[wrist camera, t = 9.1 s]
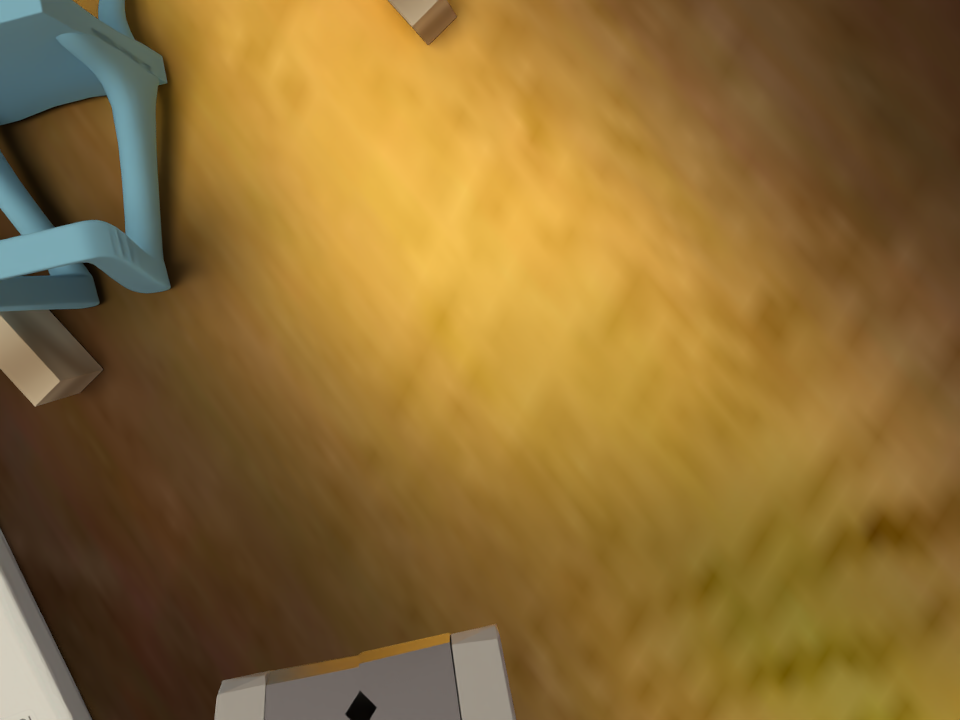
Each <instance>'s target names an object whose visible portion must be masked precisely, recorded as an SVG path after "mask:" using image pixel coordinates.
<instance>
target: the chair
mask: <svg viewBox="0 0 960 720" xmlns="http://www.w3.org/2000/svg"><path fill="white" fill-rule="evenodd" d="M166 83H167V78H166V73H165V68H164V63H163V58H162V56H161V55H160V54H158V53H157V52H155V51H153V50H152V49H150V48H149V47H147V46H145V45H144V44H142V43H140V42H138V41H136V40H135V39H134V37H133V35H132V33H131V31H130V28H129V25H128V23H127V20H126V14H125V0H99V7H98V19H97V18H95V17H94V16H93V15H91V14H90V13H89V12H87V11H86V10H85V9H83V8H82V7H80V6H79V5H78V4H76V3H75V2H74V1H72V0H0V125H4V124H8V123H12V122H16V121H19V120H22V119H24V118H27V117H30V116H32V115H35V114H37V113H40V112H42V111H45V110H47V109H50V108H52V107H55V106H59V105H63V104H67V103H70V102H74V101H78V100H82V99H86V98H90V97H97V96H105V95H107V97H108V99H109V102H110V104H111V106H112V111H113V117H114V123H115V128H116V134H117V140H118V146H119V155H120V165H121V174H122V186H123V199H124V213H125V231H126V234H125V233H123V232H122V231H121V230H119V229H118V228H117V227H115V226H113V225H111V224H109V223H107V222H104V221H99V220H87V221H81V222H77V223H72V224H68V225H64V226H59V227H54V226H53V225H52V223H51V222H50V221H49V219H48V218H47V217H46V215H45V214H44V213H43V212H42V210H41V209H40V208H39V206H38V205H37V203H36V202H35V201H34V199H33V198H32V197H31V195H30V194H29V193H28V191H27V190H26V188H25V187H24V186H23V184H22V183H21V182H20V180H19V179H18V177H17V176H16V174H15V173H14V171H13V170H12V168H11V167H10V165H9V163H8V162H7V160H6V159H5V157H4V156H3V154H2V153H1V151H0V208H1V209H2V211H3V212H4V213H5V215H6V216H7V217H8V218H9V220H10V221H11V222H12V224H13V225H14V226H15V227H16V229H17V230H18V231H19V233H20V234H21V236H16V237H12V238H8V239H3V240H0V311H23V310H50V309H80V308H88V307H93V306H96V305H98V304H99V303H100V302H99V298H98V295H97V291H96V287H95V283H94V280H93V277H92V275H91V274H90V272H89V271H88V270H87V268H86V267H85V266H84V264H83V263H86V262H87V263H91V264H94V265H95V266H97V267H98V268H99V269H101V270H102V271H103V272H105V273H106V274H107V275H108V276H110V277H111V278H112V279H114V280H115V281H116V282H118V283H119V284H121V285H122V286H124V287H125V288H127V289H130V290H132V291H135V292H139V293H155V292H162V291H166V290H168V289H170V288H171V286H170V282H169V278H168V274H167V270H166V266H165V263H164V258H163V245H162V231H161V217H160V201H159V184H158V165H157V145H156V98H157V91H158V85H162V84H166ZM44 270H48V271H49V273H50V276H22V275H26V274H31V273H35V272H39V271H44Z"/></svg>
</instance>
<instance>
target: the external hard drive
mask: <svg viewBox="0 0 960 720" xmlns="http://www.w3.org/2000/svg"><path fill="white" fill-rule="evenodd" d="M0 720H92V719H91V716H90V714H89V712H88V710H87V708H86V706H85V704H84V702H83V700H82V698H81V695H80V693H79V691H78V689H77V687H76V685H75V683H74V681H73V679H72V676H71V674H70V672H69V670H68V668H67V666H66V664H65V662H64V660H63V658H62V656H61V654H60V652H59V650H58V647H57V645H56V643H55V641H54V639H53V637H52V635H51V633H50V631H49V629H48V627H47V625H46V623H45V621H44V619H43V616H42V614H41V612H40V610H39V608H38V606H37V604H36V602H35V600H34V598H33V596H32V594H31V592H30V590H29V587H28V585H27V583H26V581H25V579H24V577H23V575H22V573H21V571H20V569H19V567H18V565H17V562H16V560H15V558H14V556H13V554H12V552H11V550H10V548H9V546H8V544H7V542H6V539H5V537H4V535H3V533H2V531H1V529H0Z"/></svg>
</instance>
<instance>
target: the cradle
mask: <svg viewBox="0 0 960 720" xmlns="http://www.w3.org/2000/svg"><path fill="white" fill-rule="evenodd" d="M388 1H389V2H390V3H391V5H392V6H393V7H394V8H395V9H396V10H397V11H398V12H399V13H400V15H401V16H402V17H403V18H404V19H405V20H406V21H407V22H408V23H409V25H410V26H411V27H412V28H413V29H414V30H415V31H416V32H417V33H418V35H419V36H420V37H421V38H422V39H423V40H424V41H425V42H426V43H427V45H429V44H430V43H431V42H432V41H433V40H434V39H435V38H436V37H437V36H438V35H439V34H440V33H441V32H442V31H443V30H444V29H445V28H446V27H447V26H448V25H449V24H450V23H451V22H452V21H453V20H454V19H455V18H456V17H457V16H456V14H455V13H454V11H453V10H452V8H451V6H450V5H449V3H448V1H447V0H388ZM0 369H1V370H2V371H3V372H4V373H5V374H6V375H7V376H8V377H9V379H10V380H11V381H12V382H13V383H14V384H15V385H16V386H17V387H18V388H19V389H20V391H21V392H22V393H23V394H24V395H25V396H26V397H27V398H28V399H29V400H30V401H31V403H32V404H33V405H34V406H38V405H42V404H45V403H48V402H52V401H55V400H58V399H61V398H65V397H68V396H71V395H75V394H78V393H80V392H81V391H82V390H83V389H84V388H85V387H86V386H87V385H88V384H89V383H90V382H91V381H92V380H93V379H94V378H95V377H96V376H97V375H98V374H99V373H100V372H101V371H102V370H103V369H102V367H101V366H100V365H99V364H98V363H97V362H96V361H95V360H94V359H93V358H92V357H91V355H90V354H89V353H88V352H87V351H86V350H85V349H84V348H83V347H82V346H81V344H80V343H79V342H78V341H77V340H76V339H75V338H74V337H73V336H72V335H71V334H70V332H69V331H68V330H67V329H66V328H65V327H64V326H63V325H62V324H61V323H60V322H59V320H58V319H57V318H56V317H55V316H54V315H53V314H52V313H51V312H50V311H49V310H23V311H0Z"/></svg>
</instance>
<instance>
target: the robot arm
mask: <svg viewBox="0 0 960 720" xmlns="http://www.w3.org/2000/svg"><path fill="white" fill-rule="evenodd" d="M215 720H516V716H515V711H514V706H513V701H512V696H511V691H510V686H509V681H508V676H507V670H506V665H505V660H504V655H503V650H502V645H501V640H500V635H499V631H498V628H497V625H496V624H493V625H488V626H484V627H480V628H475V629H471V630H467V631H462V632H458V633H454V634H451V635H450V633H445V634H441V635H437V636H432V637H428V638H423V639H419V640H414V641H410V642H405V643H401V644H396V645H392V646H387V647H383V648H379V649H374V650H370V651H365V652H361V654H357V655H352V656H347V657H342V658H337V659H331V660H326V661H321V662H316V663H311V664H305V665H300V666H295V667H290V668H285V669H280V670H274V671H267V672H262V673H257V674H252V675H247V676H243V677H238V678H233V679H228V680H224V681H223V682H222V684H221V687H220V690H219V693H218V695H217V699H216V710H215Z"/></svg>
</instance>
